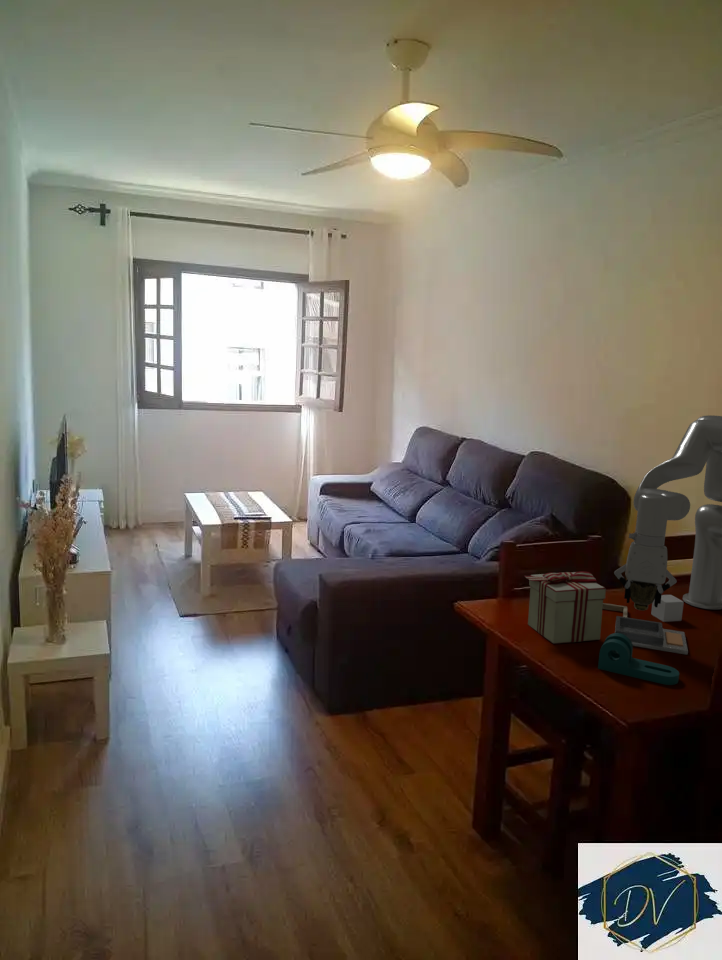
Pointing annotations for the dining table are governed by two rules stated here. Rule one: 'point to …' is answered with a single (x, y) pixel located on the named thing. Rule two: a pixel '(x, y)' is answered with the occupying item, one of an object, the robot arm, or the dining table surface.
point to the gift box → (566, 606)
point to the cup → (642, 594)
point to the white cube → (668, 609)
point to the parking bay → (616, 608)
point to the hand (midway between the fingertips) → (641, 603)
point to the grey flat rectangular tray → (651, 635)
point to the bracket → (632, 662)
